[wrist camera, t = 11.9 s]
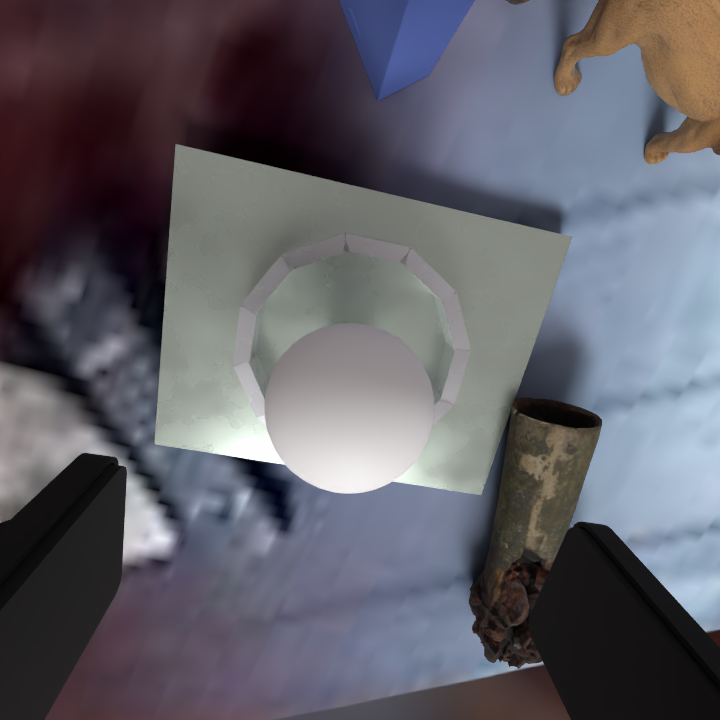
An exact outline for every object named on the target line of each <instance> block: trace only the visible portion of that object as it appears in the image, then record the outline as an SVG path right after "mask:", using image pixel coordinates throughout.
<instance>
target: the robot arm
mask: <svg viewBox="0 0 720 720" xmlns="http://www.w3.org/2000/svg"><path fill="white" fill-rule="evenodd" d="M126 478H127V470H126V467H124V466H118V460H117V458H115V457H110V456H103V455H96V454H89V453H83V454H81V455H79V456H78V457H77V458H76V459H75V460H74V461H73V462H72V463H70V464H69V465H68V466H67V467H66V468H65V469H64V470H63V471H62V472H61V473H60V474H59V475H58V476H57V477H56V478H55V479H53V480H52V481H51V482H50V483H49V484H48V485H47V486H46V487H45V488H44V489H43V490H42V491H41V492H40V493H39V494H38V495H36V496H35V497H34V498H33V499H32V500H31V501H30V502H29V503H28V504H27V505H26V506H25V507H24V508H23V509H22V510H20V511H19V512H18V513H17V514H16V515H15V516H14V517H13V518H12V519H11V520H8V521H5V522H2V523H0V720H44V719H45V718H46V716H47V714H48V712H49V711H50V709H51V707H52V705H53V704H54V702H55V700H56V698H57V697H58V695H59V693H60V691H61V690H62V688H63V686H64V684H65V683H66V681H67V679H68V677H69V676H70V674H71V672H72V670H73V669H74V667H75V665H76V663H77V661H78V660H79V658H80V656H81V654H82V653H83V651H84V649H85V647H86V646H87V644H88V642H89V640H90V639H91V637H92V635H93V633H94V632H95V630H96V628H97V626H98V625H99V623H100V621H101V619H102V618H103V616H104V614H105V612H106V611H107V609H108V607H109V605H110V604H111V602H112V600H113V598H114V596H115V594H116V592H117V590H118V587H119V584H120V581H121V575H122V557H123V538H124V518H125V498H126ZM528 625H529V632H530V635H531V638H532V640H533V642H534V644H535V646H536V648H537V650H538V652H539V654H540V656H541V659H542V661H543V663H544V665H545V667H546V669H547V671H548V673H549V675H550V677H551V679H552V681H553V683H554V685H555V687H556V689H557V692H558V693H559V695H560V698H561V700H562V702H563V704H564V706H565V708H566V710H567V712H568V714H569V716H570V718H571V720H720V647H718V645H717V644H716V643H715V642H714V641H713V640H712V639H711V638H710V637H709V635H708V634H707V633H706V632H705V631H704V630H703V629H702V628H701V627H700V626H699V624H698V623H697V622H696V621H695V620H694V619H693V618H692V617H691V616H690V615H689V614H688V612H687V611H686V610H685V609H684V608H683V607H682V606H681V605H680V604H679V603H678V601H677V600H676V599H675V598H674V597H673V596H672V595H671V594H670V593H669V592H668V591H667V589H666V588H665V587H664V586H663V585H662V584H661V583H660V582H659V581H658V580H657V578H656V577H655V576H654V575H653V574H652V573H651V572H650V571H649V570H648V569H647V568H646V566H645V565H644V564H643V563H642V562H641V561H640V560H639V559H638V558H637V557H636V556H635V554H634V553H633V552H632V551H631V550H630V549H629V548H628V547H627V546H626V545H625V543H624V542H623V541H622V540H621V539H620V538H619V537H618V536H617V535H616V534H615V533H614V531H613V530H612V529H610V528H609V527H608V526H606V525H602V524H594V523H587V522H578V523H576V524H575V525H574V526H573V528H570V529H568V531H567V532H566V534H565V537H564V539H563V541H562V543H561V546H560V548H559V550H558V553H557V555H556V557H555V559H554V562H553V564H552V566H551V569H550V571H549V573H548V576H547V578H546V580H545V582H544V585H543V587H542V589H541V592H540V594H539V596H538V598H537V601H536V603H535V605H534V608H533V610H532V612H531V614H530V617H529V623H528Z"/></svg>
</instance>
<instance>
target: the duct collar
mask: <svg viewBox="0 0 720 720" xmlns="http://www.w3.org/2000/svg"><path fill="white" fill-rule="evenodd" d="M571 239H572V237H571V236H567V235H562V234H558V233H554V232H550V231H545V230H541V229H537V228H532V227H528V226H524V225H520V224H515V223H511V222H507V221H503V220H498V219H494V218H490V217H485V216H481V215H477V214H473V213H468V212H464V211H460V210H456V209H451V208H447V207H443V206H438V205H434V204H430V203H426V202H421V201H417V200H413V199H409V198H404V197H400V196H396V195H391V194H387V193H383V192H379V191H374V190H370V189H366V188H362V187H357V186H353V185H349V184H344V183H340V182H336V181H332V180H327V179H323V178H319V177H315V176H310V175H306V174H302V173H297V172H293V171H289V170H285V169H280V168H276V167H272V166H267V165H263V164H259V163H255V162H250V161H246V160H242V159H238V158H233V157H229V156H225V155H220V154H216V153H212V152H208V151H203V150H199V149H195V148H191V147H186V146H182V145H178V144H176V146H175V161H174V175H173V189H172V203H171V218H170V232H169V246H168V260H167V275H166V289H165V303H164V317H163V332H162V346H161V360H160V375H159V389H158V403H157V417H156V432H155V444H157V445H164V446H170V447H177V448H183V449H189V450H196V451H202V452H209V453H215V454H221V455H228V456H234V457H241V458H247V459H253V460H260V461H266V462H273V463H279V464H284V463H283V461H282V460H281V459H280V457H279V455H278V454H277V452H276V450H275V449H274V447H273V444H272V442H271V439H270V437H269V434H268V431H267V428H266V420H265V411H264V405H265V394H266V389H267V385H268V382H269V379H270V376H271V374H272V372H273V370H274V368H275V366H276V365H277V363H278V361H279V359H280V358H281V356H282V355H283V354H284V353H285V352H286V351H287V350H288V349H289V347H290V346H291V345H292V344H294V343H295V342H296V341H298V340H299V339H300V338H302V337H303V336H305V335H307V334H309V333H311V332H313V331H315V330H317V329H319V328H322V327H326V326H330V325H334V324H341V323H358V324H365V325H370V326H373V327H376V328H379V329H382V330H385V331H387V332H389V333H391V334H392V335H394V336H396V337H397V338H399V339H401V340H402V341H403V342H404V343H405V344H406V345H407V346H408V347H410V348H411V349H412V350H413V352H414V353H415V354H416V356H417V357H418V358H419V360H420V361H421V363H422V364H423V366H424V368H425V370H426V372H427V375H428V377H429V379H430V382H431V386H432V391H433V395H434V420H433V424H432V429H431V433H430V436H429V438H428V441H427V443H426V445H425V447H424V450H423V452H422V453H421V455H420V456H419V458H418V459H417V460H416V462H415V463H414V464H413V465H412V466H411V467H410V468H409V469H408V470H407V471H406V472H405V473H404V474H403V475H401V476H400V477H398V478H396V479H395V480H393V481H394V482H401V483H407V484H413V485H420V486H426V487H433V488H439V489H445V490H452V491H458V492H465V493H471V494H477V495H481V494H482V491H483V488H484V485H485V483H486V480H487V477H488V474H489V471H490V468H491V466H492V463H493V460H494V457H495V454H496V451H497V449H498V446H499V443H500V440H501V437H502V434H503V432H504V429H505V426H506V423H507V420H508V418H509V415H510V412H511V409H512V406H513V403H514V401H515V398H516V395H517V392H518V389H519V386H520V384H521V381H522V378H523V375H524V372H525V369H526V367H527V364H528V361H529V358H530V355H531V352H532V350H533V347H534V344H535V341H536V338H537V335H538V333H539V330H540V327H541V324H542V321H543V319H544V316H545V313H546V310H547V307H548V304H549V302H550V299H551V296H552V293H553V290H554V287H555V285H556V282H557V279H558V276H559V273H560V270H561V268H562V265H563V262H564V259H565V256H566V253H567V251H568V248H569V245H570V242H571Z"/></svg>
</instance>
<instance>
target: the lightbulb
mask: <svg viewBox="0 0 720 720" xmlns="http://www.w3.org/2000/svg"><path fill="white" fill-rule="evenodd" d="M264 411H265V420H266V428H267V431H268V434H269V437H270V439H271V442H272V444H273V447H274V449H275V450H276V452H277V454H278V455H279V457H280V459H281V460H282V461H283V463H284V464H285V465H286V466H287V467H288V468H289V469H290V470H291V471H292V472H293V473H295V474H296V475H297V476H299V477H300V478H301V479H303V480H304V481H306V482H308V483H310V484H312V485H314V486H316V487H318V488H321V489H324V490H328V491H331V492H337V493H346V494H349V493H362V492H367V491H371V490H375V489H377V488H380V487H382V486H385V485H387V484H389V483H390V482H392V481H393V480H395V479H396V478H398V477H400V476H401V475H403V474H404V473H405V472H406V471H407V470H408V469H409V468H410V467H411V466H412V465H413V464H414V463H415V462H416V460H417V459H418V458H419V456H420V455H421V453H422V452H423V450H424V447H425V445H426V443H427V441H428V438H429V436H430V433H431V429H432V424H433V420H434V395H433V391H432V386H431V382H430V379H429V377H428V375H427V372H426V370H425V368H424V366H423V364H422V363H421V361H420V360H419V358H418V357H417V356H416V354H415V353H414V352H413V350H412V349H411V348H410V347H408V346H407V345H406V344H405V343H404V342H403V341H402V340H401V339H399V338H397V337H396V336H394V335H392V334H391V333H389V332H387V331H385V330H382V329H379V328H376V327H373V326H370V325H365V324H358V323H341V324H334V325H330V326H326V327H322V328H319V329H317V330H315V331H313V332H311V333H309V334H307V335H305V336H303V337H302V338H300V339H299V340H298V341H296V342H295V343H294V344H292V345H291V346H290V347H289V349H288V350H287V351H286V352H285V353H284V354H283V355H282V356H281V358H280V359H279V361H278V363H277V365H276V366H275V368H274V370H273V372H272V374H271V376H270V379H269V382H268V385H267V389H266V394H265V405H264Z"/></svg>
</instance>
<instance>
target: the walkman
mask: <svg viewBox="0 0 720 720" xmlns="http://www.w3.org/2000/svg"><path fill="white" fill-rule="evenodd" d="M474 1H475V0H339V2H340V4H341V7H342V10H343V12H344V15H345V17H346V20H347V23H348V25H349V28H350V31H351V33H352V36H353V38H354V41H355V44H356V46H357V49H358V51H359V54H360V57H361V59H362V62H363V65H364V67H365V70H366V72H367V75H368V78H369V80H370V83H371V85H372V88H373V91H374V93H375V96H376V99H377V101H379V100H381V99H383V98H385V97H387V96H389V95H391V94H393V93H395V92H397V91H399V90H401V89H403V88H405V87H407V86H409V85H411V84H413V83H415V82H416V81H418V80H420V79H422V78H424V77H426V76H428V75H429V74H430V72H431V71H432V69H433V68H434V66H435V64H436V63H437V61H438V59H439V58H440V56H441V54H442V53H443V51H444V50H445V48H446V46H447V45H448V43H449V41H450V40H451V38H452V37H453V35H454V33H455V32H456V30H457V28H458V27H459V25H460V23H461V22H462V20H463V19H464V17H465V15H466V14H467V12H468V10H469V9H470V7H471V6H472V4H473V2H474Z"/></svg>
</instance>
